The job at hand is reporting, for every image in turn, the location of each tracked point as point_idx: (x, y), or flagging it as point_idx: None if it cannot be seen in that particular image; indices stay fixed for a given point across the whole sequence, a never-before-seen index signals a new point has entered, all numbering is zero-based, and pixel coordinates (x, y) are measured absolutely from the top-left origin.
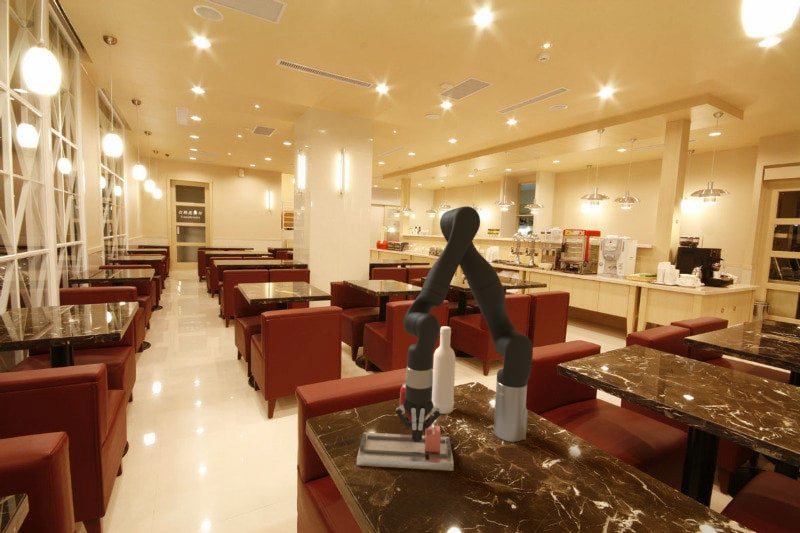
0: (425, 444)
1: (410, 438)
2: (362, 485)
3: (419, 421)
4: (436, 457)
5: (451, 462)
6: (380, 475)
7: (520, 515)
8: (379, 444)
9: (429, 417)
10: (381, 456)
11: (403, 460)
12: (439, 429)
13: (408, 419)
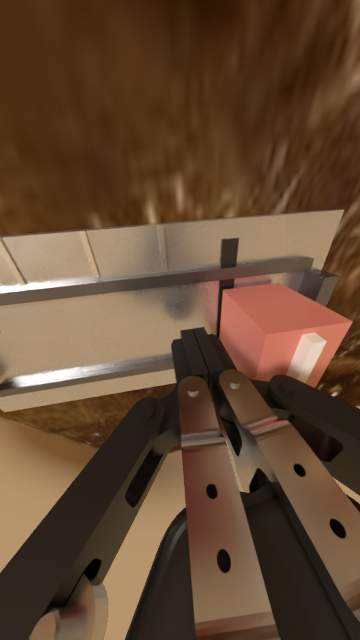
0: (223, 322)
1: (155, 283)
2: (79, 427)
3: (244, 483)
4: None
5: None
6: (104, 400)
7: None
8: (28, 338)
9: (343, 452)
10: (78, 389)
11: (151, 385)
12: (331, 354)
13: (150, 445)
